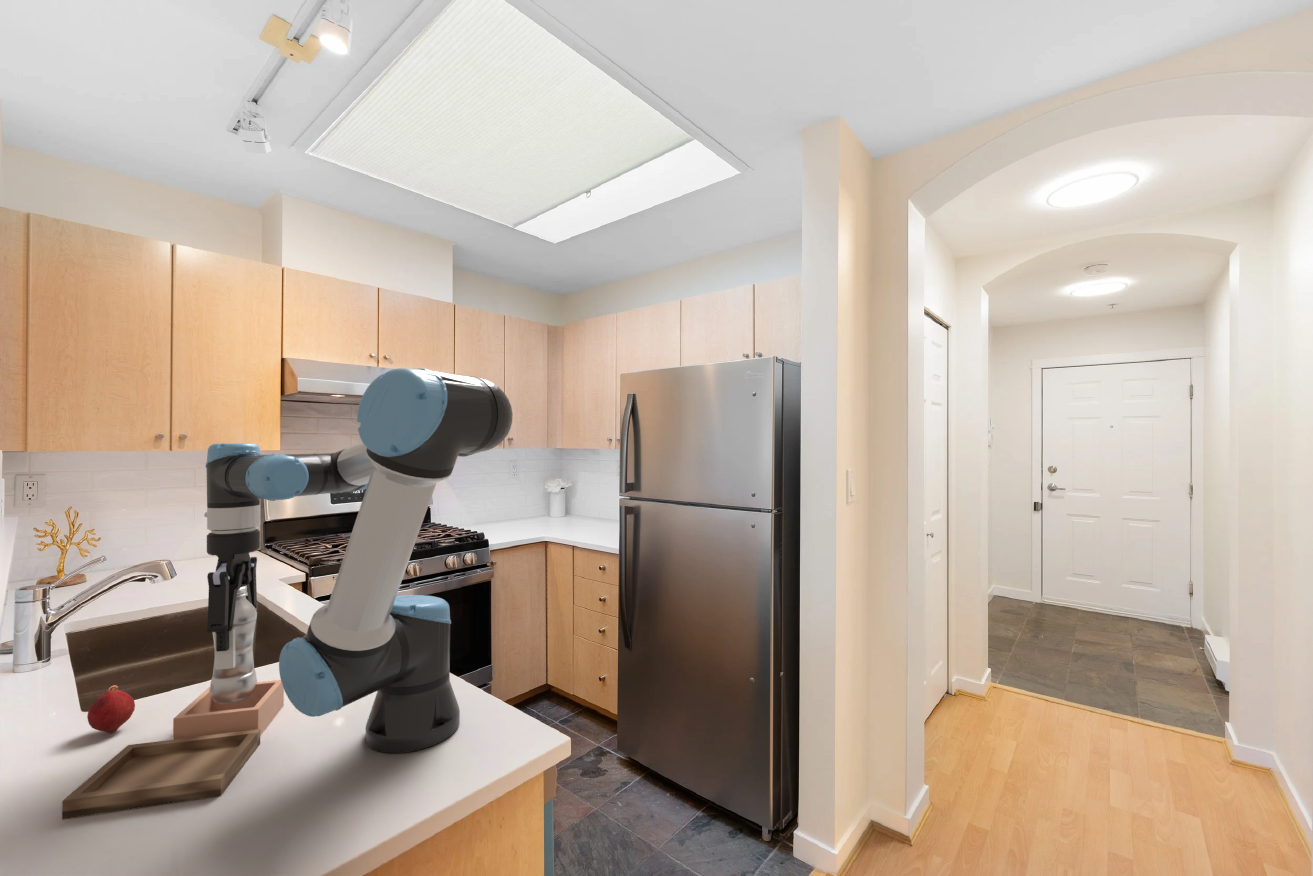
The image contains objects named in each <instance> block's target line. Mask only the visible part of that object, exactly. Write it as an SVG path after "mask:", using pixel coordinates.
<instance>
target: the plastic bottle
mask: <svg viewBox="0 0 1313 876" xmlns="http://www.w3.org/2000/svg"><path fill="white" fill-rule="evenodd" d="M247 595H248V592H247V585H246V584H241V588H240V589H238V590H237V596H236V604H235V612H234V620H233V628H232V629H235V667H234V668H229V669H219V670H215V659H214V661H213V669H212V677H211V680H210V686H209V687H210V690H209V691H210V696H211V699H212V700H213V701H214V702H216V703H231V702H236V701H239V700H242V699H245V698H247V697H249V696H250V695H251V694H252V693H253V691H254V690H255V687H256V683H257V682H258V678H257V672H256V668H255V664H254V663H255V661H254V651H253V649H254V645H253V644H254V635H255V630H256V623H257V618H258V617H257V615H258V613H257V611H256V610H257V608H256V609H255V607H254V606H253V605H252V604H251V603H250V602H249V601H248V600H247V599H246V596H247ZM212 639H213V648H214V649H213V650H214V653H213V654H214V655H215V632H212Z"/></svg>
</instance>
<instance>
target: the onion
mask: <svg viewBox="0 0 1313 876" xmlns="http://www.w3.org/2000/svg"><path fill="white" fill-rule="evenodd" d="M118 688H119V685H116V684H115V685H112V686H110V687H109V688H108V689H107V690H106V691H105V692H104V693H103V694H101V695H100V696H99V697H98V698H96V700H95V701H94V702H93V703H92V704H91V705H90V707H89V709H88V711H87V717H86V718H87V723H88V725H89V726H90V727H91V728H92V729H94V730H95V731H99V732H104V733H108V734H111V733H112V734H113V733H115V732H116V731H118V729H119V728H121V727H122V726H123V725H124V724H125V723H127V721H128V720H129V719H131V717H132V715H133V713H134V712H135V708H136V704H135V699H134V698H133V697H132V695H130V694H129V693H127V692H125V691H123V690H119V689H118Z"/></svg>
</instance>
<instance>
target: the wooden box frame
mask: <svg viewBox="0 0 1313 876" xmlns="http://www.w3.org/2000/svg"><path fill="white" fill-rule="evenodd" d="M209 690H210V686H209V687H207V689H205V690H204V691H203V692H202V693H201V694H200V695H198V696H197V697H196V698H194V700H192V702H190V703H189V704H188V705H187V706H186V707H185V708H184V709H183V710H181V711H180V712H179V713H178V714H177V715H176V716H174V717H173V724H172V725H173V726H172V730H173V731H172V735H173V737H172V738H173V739H182V738H190V737H198V736H206V735H215V734H223V733H231V732H239V731H248V730H256V729H260V737H261V735H262V734H263V733H264V732H265V731H266V729H267V727H269V725H270V724H271V723H272V722H273V720H274V719H275V718H276V716H277V715H278V714H279V712H280V711H281V710H282V708H284V705H285V704H284V703H285V702H284V701H285V694H284V693H285V690H284V688H283V684H282V682H281V679H277V680H276V679H275V680H266V681H257V683H256V687H255V690H254V691H253V693H252V694H251V695H250V696H249V697H247V698H245V699H242V700H239V701H236V702H231V703H216V702H214V701H213V700H212V699H211V696H210V691H209ZM273 718H274V719H273ZM173 739H172V740H173Z"/></svg>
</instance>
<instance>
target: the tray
mask: <svg viewBox="0 0 1313 876" xmlns="http://www.w3.org/2000/svg"><path fill="white" fill-rule="evenodd" d="M260 745H261V736H260V729H256V730H248V731H239V732H231V733H223V734H215V735H206V736H198V737H190V738H182V739H167V740H158V741H150V742H143V743H142V742H141V743H134V744H128V745H126V746H125V747H124V748H122V750H120V751H119V752H118V753H117V754H116V755H114V756H113V757H112V758H111V759H110V760H109V761H108V762H106V763H105V764H104V765H103V766H101V767H100V768H99V769H97V771H96V772H94V773H93V774H92V775H90V776H89V777H88V778H87V779H86V780H85V781H83V782H82V784H80V785H78V787H76V788H75V789H74V790H72V792H71V793H69V794H68V795H67V796H66V797H65V798H64V799H63V800H62V801H61V820H67V819H68V820H69V819H73V818H79V817H80V818H81V817H87V816H94V815H101V814H108V813H113V812H114V813H115V812H121V811H129V810H135V809H143V808H149V807H155V806H156V807H157V806H161V805H162V806H163V805H169V804H174V803H175V804H176V803H183V802H189V801H196V800H202V799H203V800H204V799H209V798H216V797H222V795H223V794H224V792H225V791H226V789H227V788H229V786H230V785H231V783H232V782H233V780H235V778H236V777H237V775H238V774H239V773H240V772H241V770H242V769H243V767H245V765H246V763H247V762H248V761H249V759H250V758H251V757H252V756H253V754H254V753H255V752H256V750H257V749H258V747H259V746H260Z"/></svg>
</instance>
